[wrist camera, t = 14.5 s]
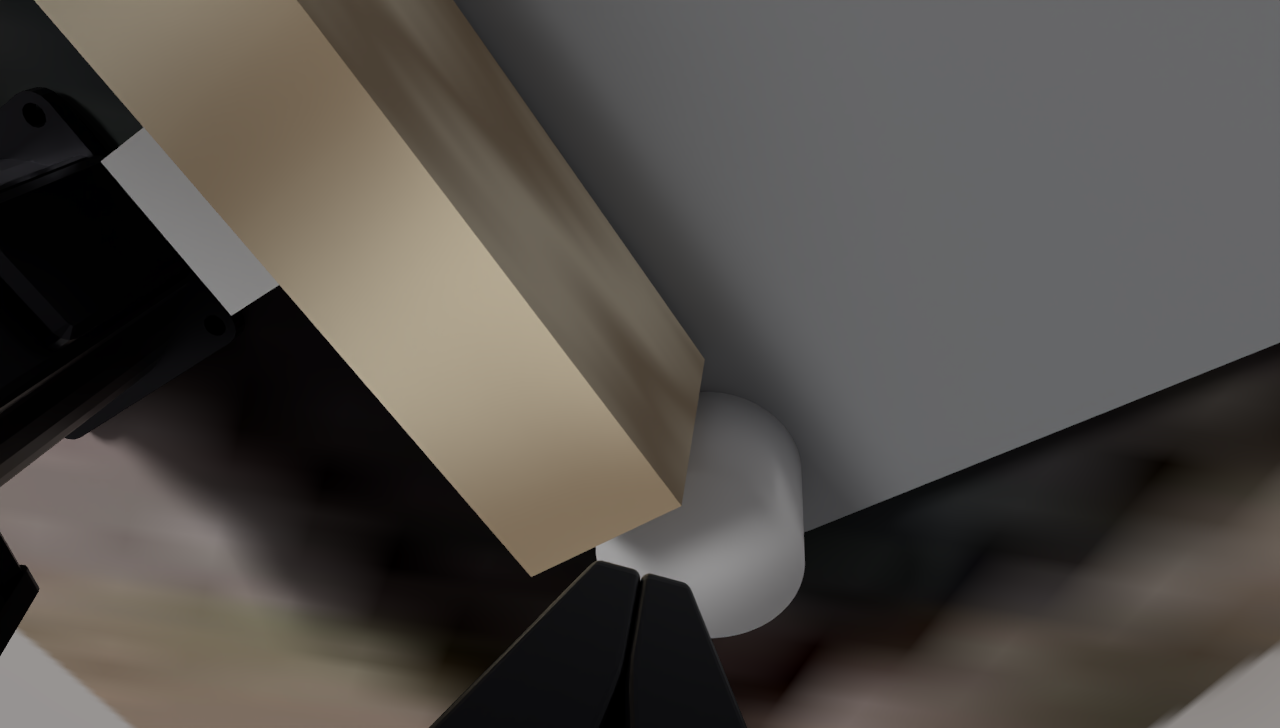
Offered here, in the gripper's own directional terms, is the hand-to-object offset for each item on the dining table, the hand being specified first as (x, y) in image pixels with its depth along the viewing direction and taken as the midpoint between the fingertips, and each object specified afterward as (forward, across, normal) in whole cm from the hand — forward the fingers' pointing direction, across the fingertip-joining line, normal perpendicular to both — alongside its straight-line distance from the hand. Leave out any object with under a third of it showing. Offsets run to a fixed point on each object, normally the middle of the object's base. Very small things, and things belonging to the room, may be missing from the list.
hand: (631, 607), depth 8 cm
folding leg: (+10, +6, -1) cm, 12 cm away
